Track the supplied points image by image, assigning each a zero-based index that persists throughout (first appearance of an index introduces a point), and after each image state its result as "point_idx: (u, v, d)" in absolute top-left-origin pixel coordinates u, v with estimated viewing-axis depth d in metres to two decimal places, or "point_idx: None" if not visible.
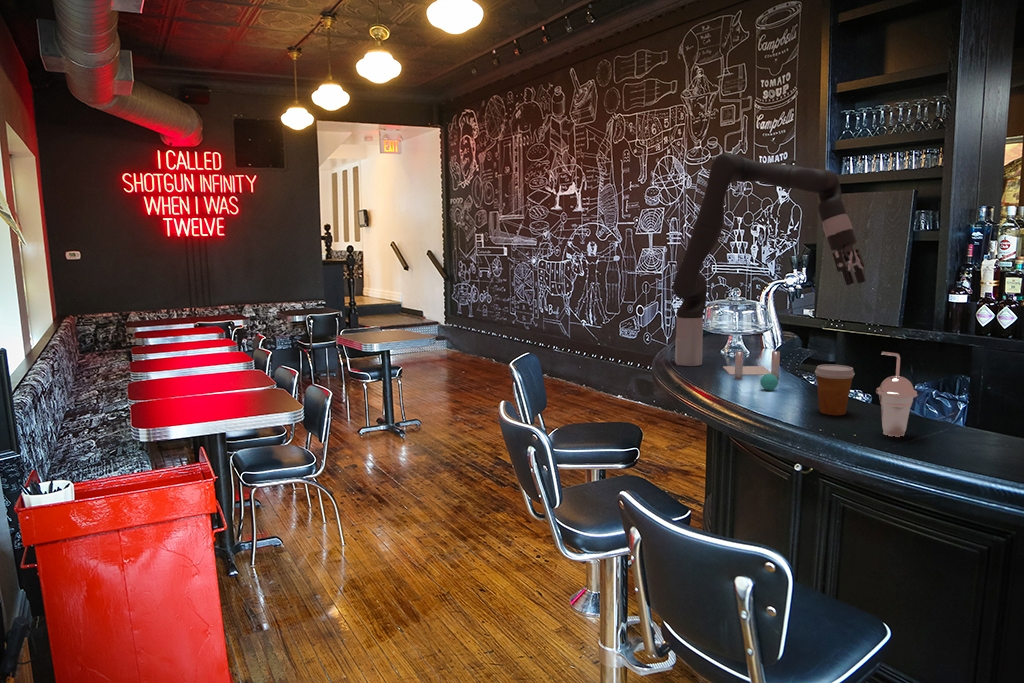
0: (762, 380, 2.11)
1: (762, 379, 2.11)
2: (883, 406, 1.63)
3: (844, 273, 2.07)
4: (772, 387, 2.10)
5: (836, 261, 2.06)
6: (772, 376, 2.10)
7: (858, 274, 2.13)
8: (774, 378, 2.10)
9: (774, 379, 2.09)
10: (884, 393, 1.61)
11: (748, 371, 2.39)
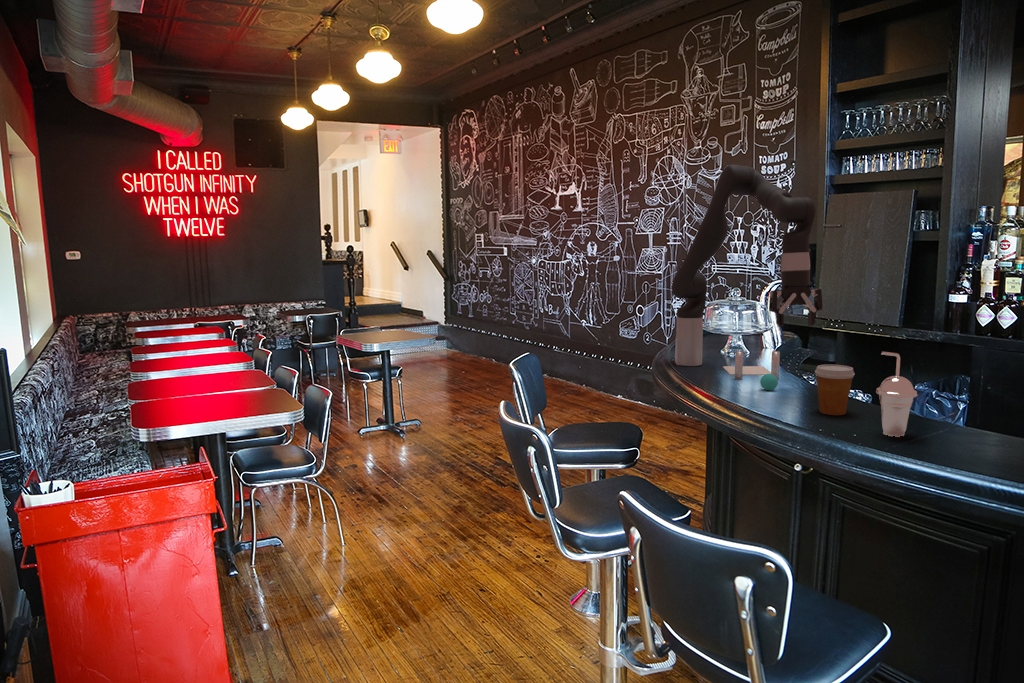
0: (762, 380, 2.11)
1: (762, 379, 2.11)
2: (883, 406, 1.63)
3: (776, 314, 2.00)
4: (772, 387, 2.10)
5: (770, 300, 2.00)
6: (772, 376, 2.10)
7: (809, 316, 2.00)
8: (774, 378, 2.10)
9: (774, 379, 2.09)
10: (884, 393, 1.61)
11: (748, 371, 2.39)
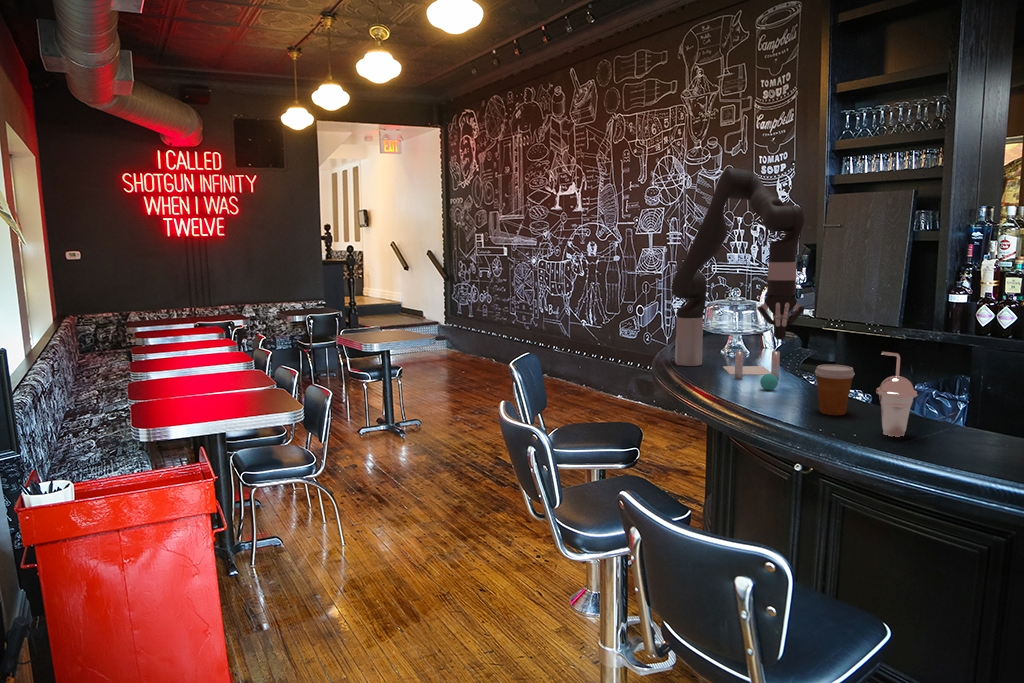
0: (762, 380, 2.11)
1: (762, 379, 2.11)
2: (883, 406, 1.63)
3: (774, 326, 2.00)
4: (772, 387, 2.10)
5: None
6: (772, 376, 2.10)
7: None
8: (774, 378, 2.10)
9: (774, 379, 2.09)
10: (884, 393, 1.61)
11: (748, 371, 2.39)
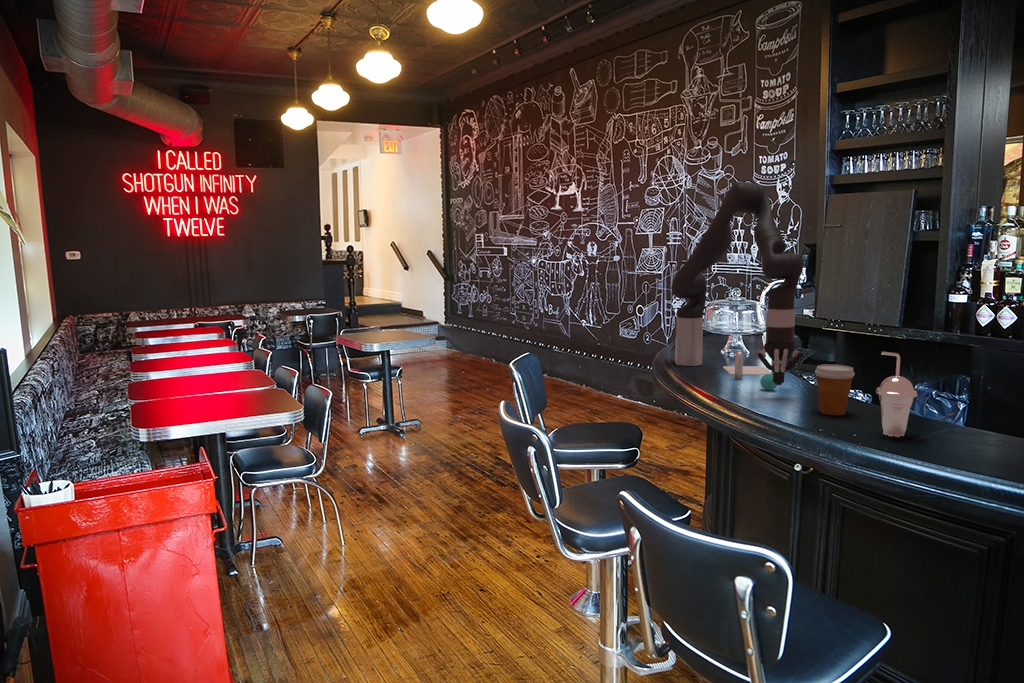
0: (762, 380, 2.11)
1: (762, 379, 2.11)
2: (883, 406, 1.63)
3: (773, 372, 2.02)
4: (772, 387, 2.10)
5: (761, 361, 2.02)
6: (772, 376, 2.10)
7: None
8: None
9: None
10: (884, 393, 1.61)
11: (748, 371, 2.39)
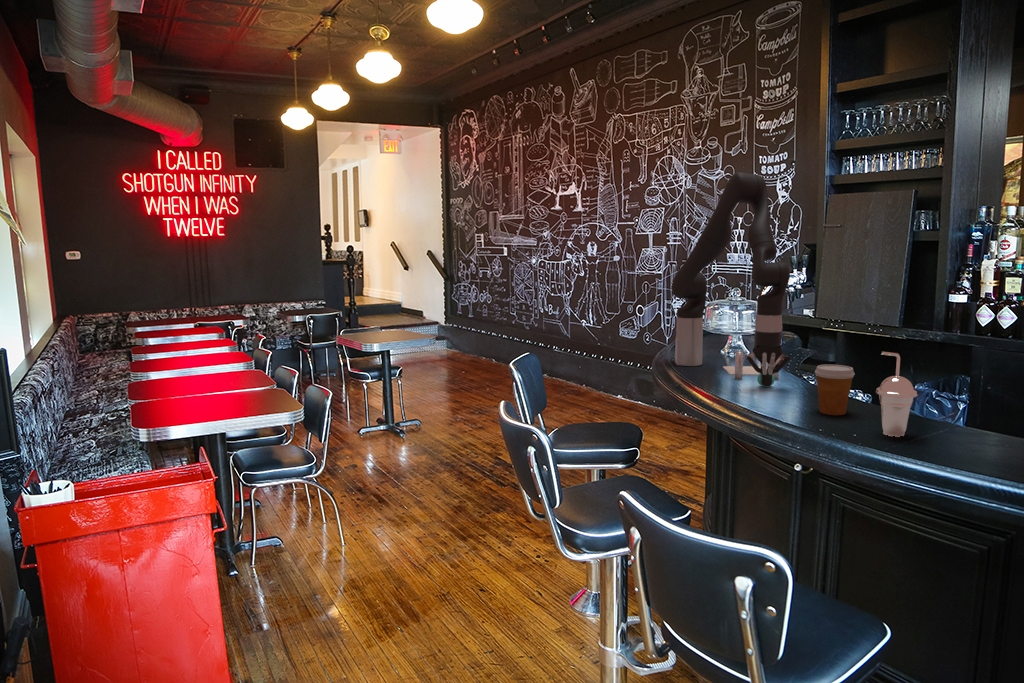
0: (758, 375, 2.16)
1: (758, 375, 2.17)
2: (883, 406, 1.63)
3: (761, 374, 2.13)
4: None
5: None
6: None
7: None
8: None
9: None
10: (884, 393, 1.61)
11: (748, 371, 2.39)
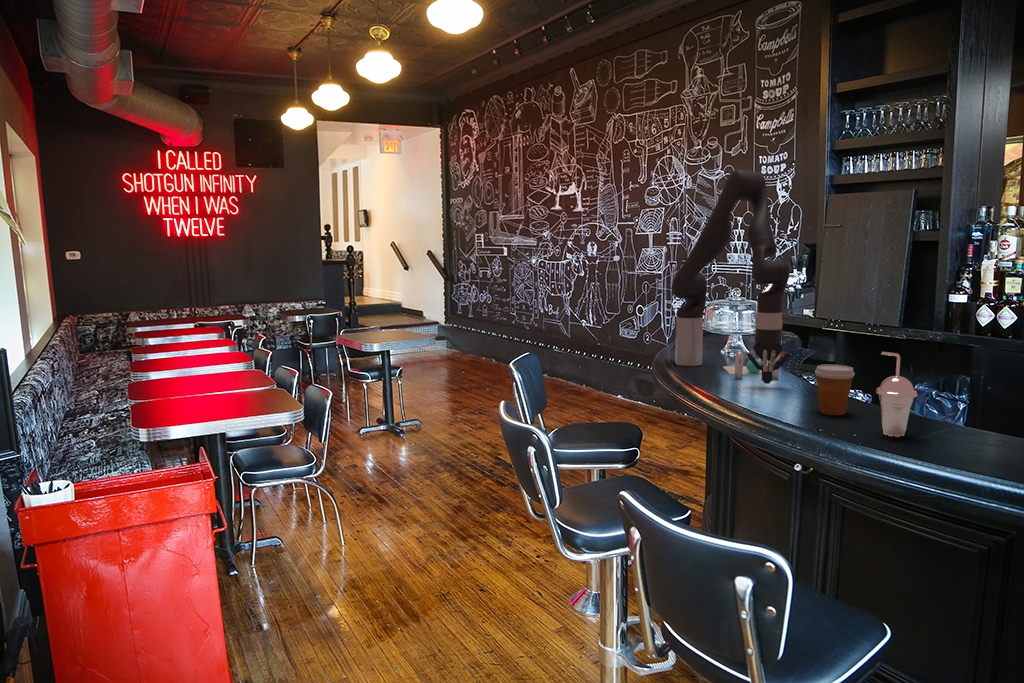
0: None
1: (747, 369, 2.37)
2: (883, 406, 1.63)
3: None
4: None
5: (751, 361, 2.15)
6: None
7: None
8: None
9: None
10: (884, 393, 1.61)
11: (748, 371, 2.39)
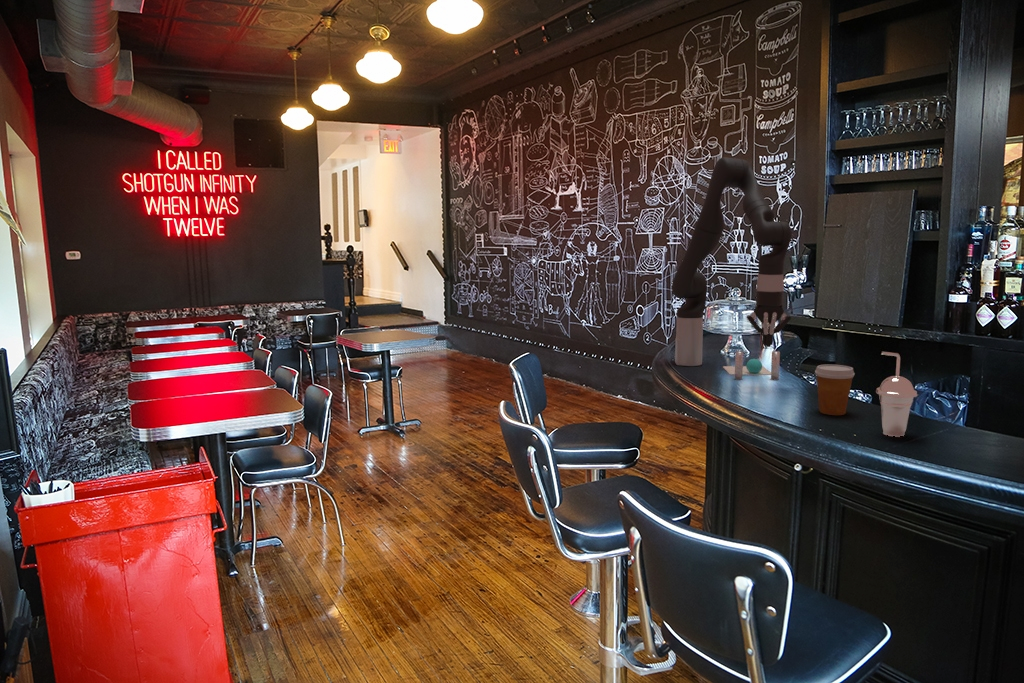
0: None
1: (747, 369, 2.37)
2: (883, 406, 1.63)
3: (762, 334, 2.13)
4: None
5: None
6: None
7: None
8: None
9: None
10: (884, 393, 1.61)
11: (748, 371, 2.39)
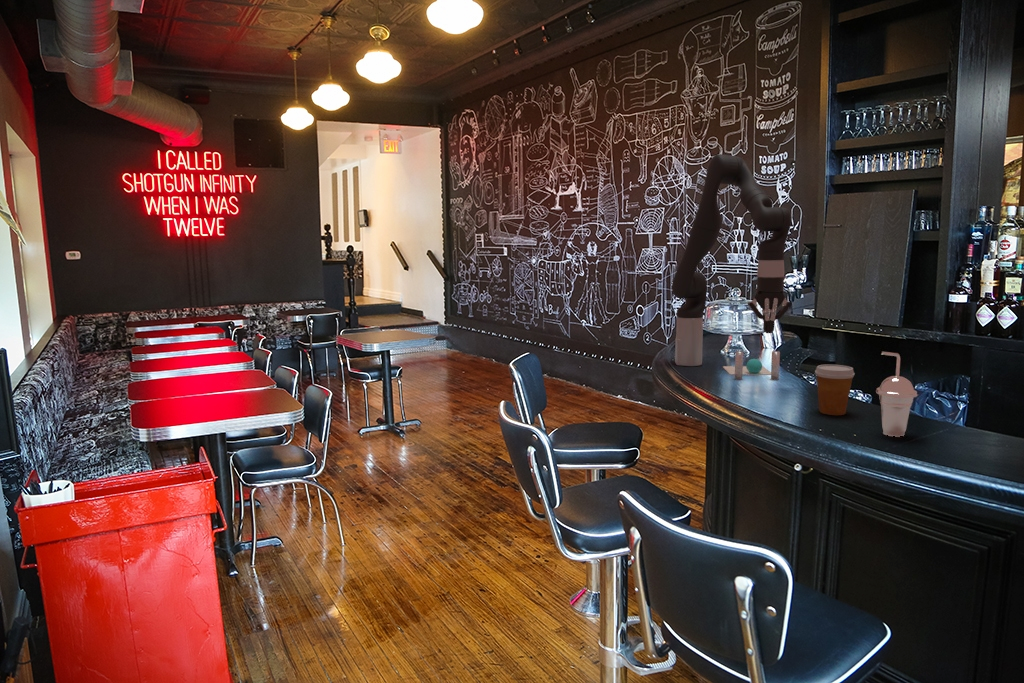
0: None
1: (747, 369, 2.37)
2: (883, 406, 1.63)
3: None
4: None
5: None
6: None
7: None
8: None
9: None
10: (884, 393, 1.61)
11: (748, 371, 2.39)
